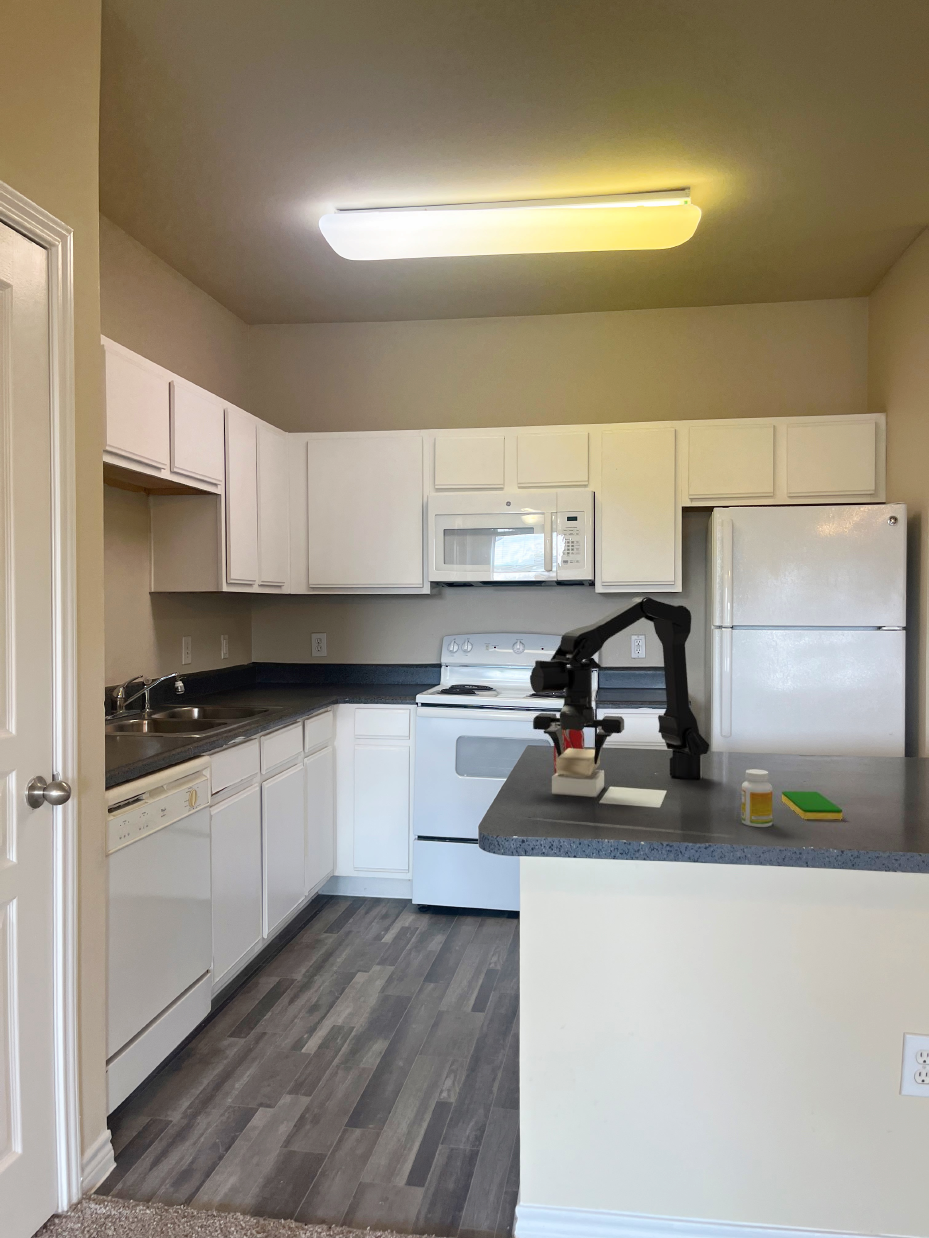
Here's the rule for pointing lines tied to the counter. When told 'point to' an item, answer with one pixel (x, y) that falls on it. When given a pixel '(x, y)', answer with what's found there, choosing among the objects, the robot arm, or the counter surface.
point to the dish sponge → (811, 805)
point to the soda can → (570, 742)
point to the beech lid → (576, 762)
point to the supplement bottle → (757, 799)
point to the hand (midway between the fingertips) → (578, 763)
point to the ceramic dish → (578, 784)
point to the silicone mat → (634, 797)
